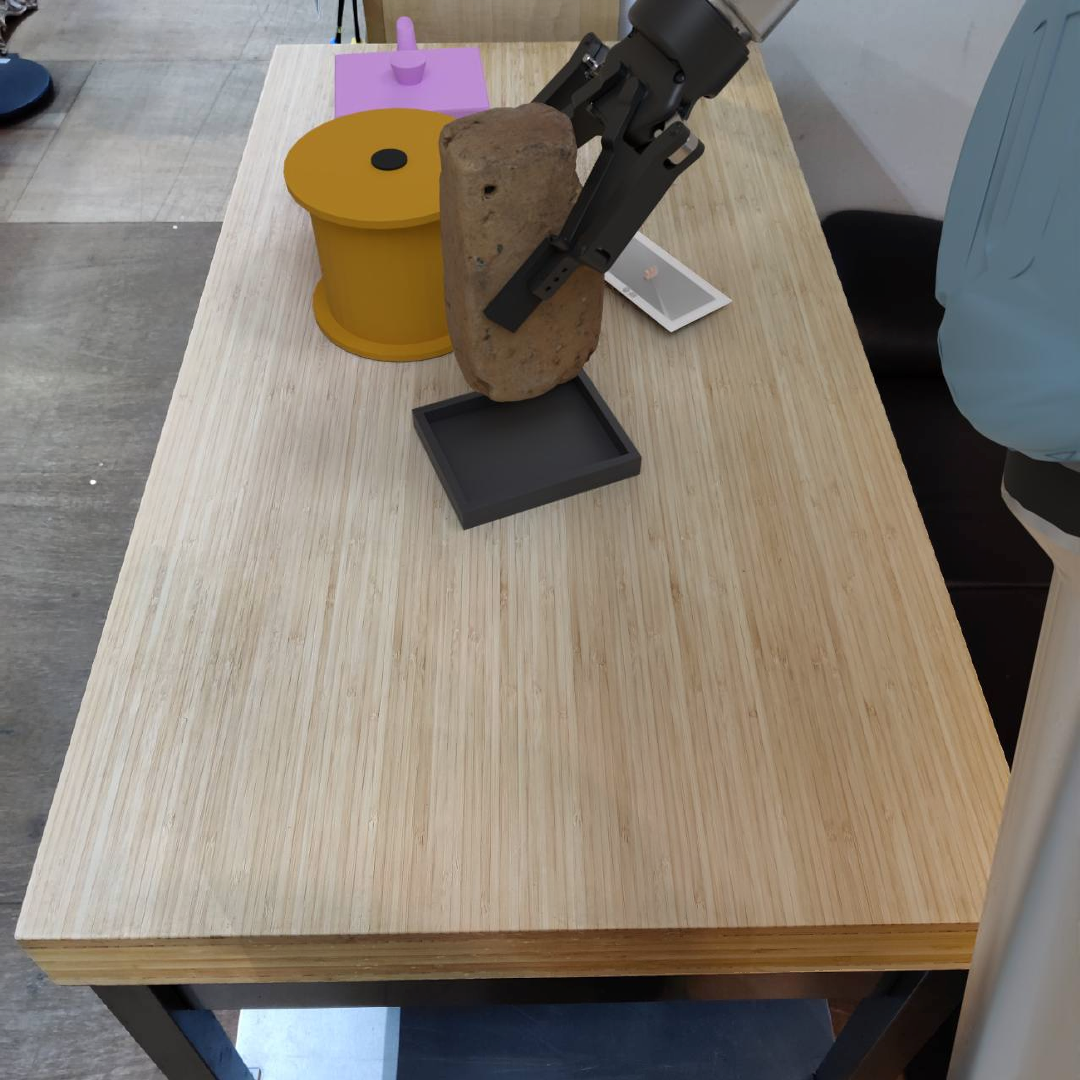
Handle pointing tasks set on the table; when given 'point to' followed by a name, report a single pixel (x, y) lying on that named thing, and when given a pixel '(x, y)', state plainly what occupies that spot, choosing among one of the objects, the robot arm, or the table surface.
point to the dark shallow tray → (523, 449)
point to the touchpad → (662, 284)
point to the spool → (376, 230)
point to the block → (512, 248)
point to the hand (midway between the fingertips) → (477, 287)
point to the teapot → (411, 78)
